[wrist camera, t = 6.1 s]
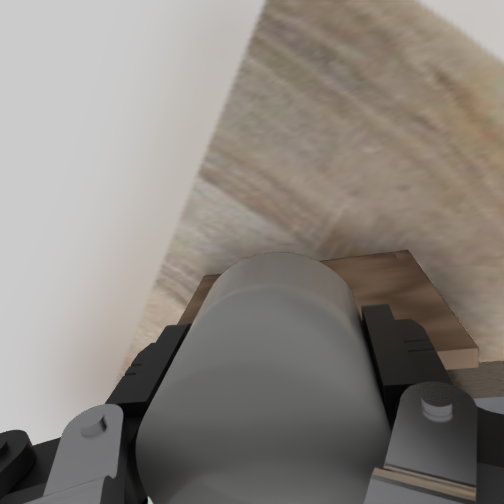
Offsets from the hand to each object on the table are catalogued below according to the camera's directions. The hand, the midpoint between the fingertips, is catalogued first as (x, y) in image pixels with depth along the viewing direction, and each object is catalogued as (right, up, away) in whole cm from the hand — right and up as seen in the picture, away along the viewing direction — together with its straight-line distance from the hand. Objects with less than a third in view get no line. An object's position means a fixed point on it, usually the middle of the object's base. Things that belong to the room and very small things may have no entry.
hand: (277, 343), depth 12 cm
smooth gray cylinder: (0, 0, +1) cm, 1 cm away
